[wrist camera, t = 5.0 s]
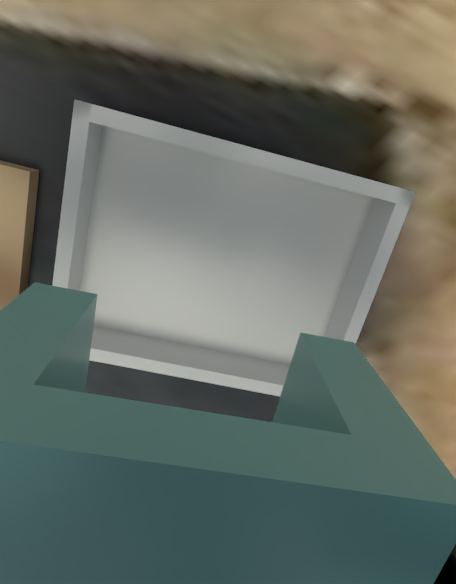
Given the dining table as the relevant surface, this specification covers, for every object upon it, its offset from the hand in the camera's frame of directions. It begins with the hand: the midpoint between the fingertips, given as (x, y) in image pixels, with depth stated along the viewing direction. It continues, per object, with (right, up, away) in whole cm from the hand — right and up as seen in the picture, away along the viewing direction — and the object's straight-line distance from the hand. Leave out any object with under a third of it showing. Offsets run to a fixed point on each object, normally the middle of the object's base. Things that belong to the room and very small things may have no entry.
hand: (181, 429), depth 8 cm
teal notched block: (0, 0, +1) cm, 1 cm away
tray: (+1, +4, +11) cm, 12 cm away
